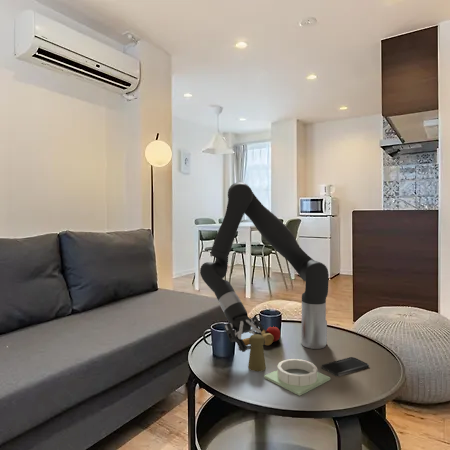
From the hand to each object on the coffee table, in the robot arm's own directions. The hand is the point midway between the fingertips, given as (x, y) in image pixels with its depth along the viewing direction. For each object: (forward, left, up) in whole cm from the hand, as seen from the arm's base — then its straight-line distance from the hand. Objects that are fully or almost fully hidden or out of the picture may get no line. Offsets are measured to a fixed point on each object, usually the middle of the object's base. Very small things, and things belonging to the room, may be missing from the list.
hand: (254, 347), depth 120 cm
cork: (0, +1, -7) cm, 7 cm away
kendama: (-16, -13, -7) cm, 22 cm away
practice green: (-4, +15, -6) cm, 17 cm away
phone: (-23, +20, -7) cm, 31 cm away
